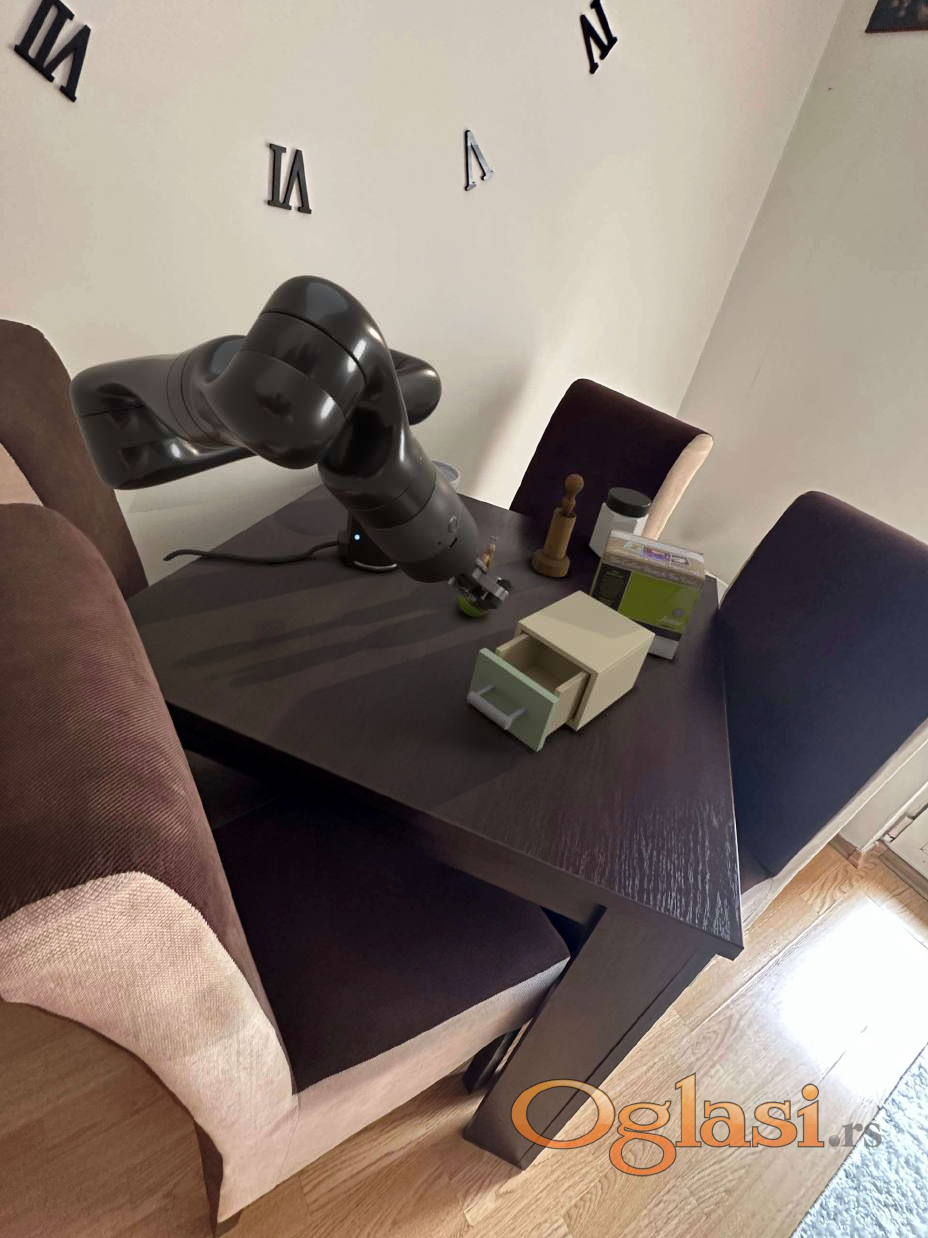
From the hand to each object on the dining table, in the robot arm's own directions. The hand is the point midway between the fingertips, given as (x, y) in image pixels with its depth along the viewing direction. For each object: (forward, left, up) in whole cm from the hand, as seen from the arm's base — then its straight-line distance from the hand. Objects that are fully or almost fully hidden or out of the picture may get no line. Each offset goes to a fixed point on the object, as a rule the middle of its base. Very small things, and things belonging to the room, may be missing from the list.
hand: (484, 602), depth 67 cm
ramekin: (+7, +66, -20) cm, 70 cm away
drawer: (+10, +4, -19) cm, 22 cm away
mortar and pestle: (+27, +42, -20) cm, 54 cm away
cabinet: (+19, +10, -20) cm, 29 cm away
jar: (+43, +50, -20) cm, 69 cm away
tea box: (+34, +23, -20) cm, 46 cm away
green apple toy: (+9, +27, -20) cm, 35 cm away
